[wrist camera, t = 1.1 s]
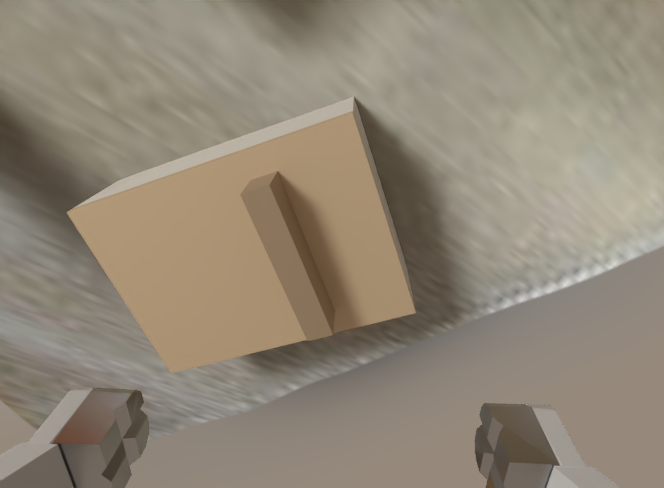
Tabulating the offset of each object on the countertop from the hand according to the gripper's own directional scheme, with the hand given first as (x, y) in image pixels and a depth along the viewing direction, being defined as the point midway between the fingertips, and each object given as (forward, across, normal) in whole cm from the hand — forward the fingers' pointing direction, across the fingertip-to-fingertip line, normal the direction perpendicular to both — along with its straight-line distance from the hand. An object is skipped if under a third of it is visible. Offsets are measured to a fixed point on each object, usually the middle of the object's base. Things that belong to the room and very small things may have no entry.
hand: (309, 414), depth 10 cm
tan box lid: (+22, +7, +7) cm, 24 cm away
